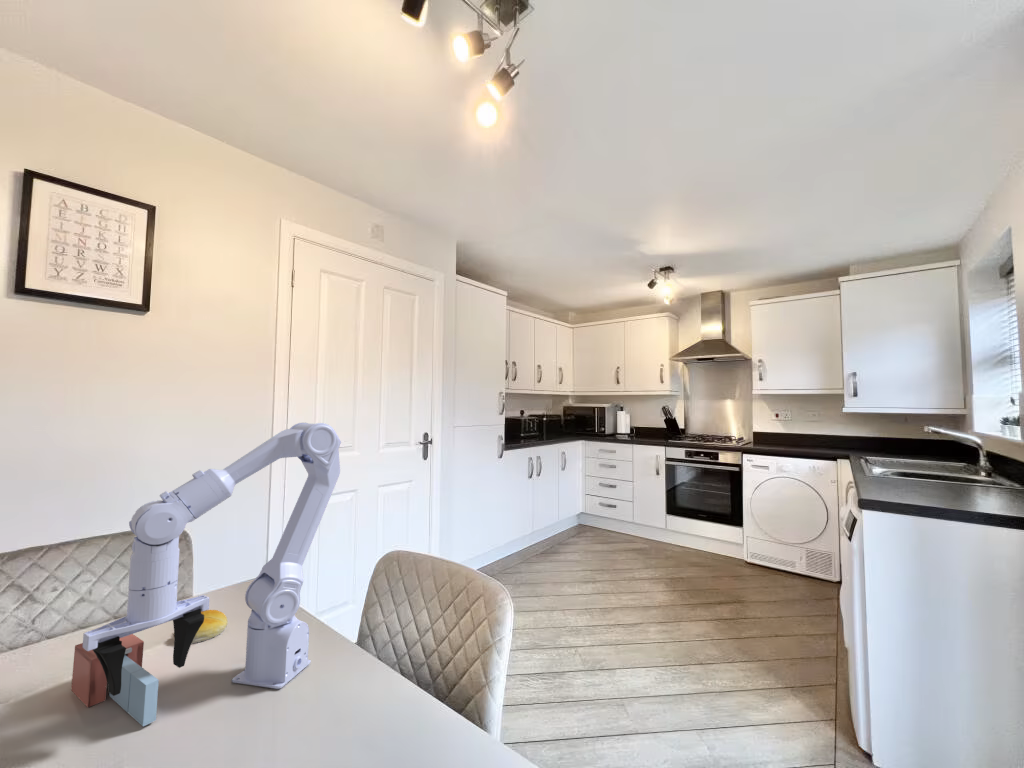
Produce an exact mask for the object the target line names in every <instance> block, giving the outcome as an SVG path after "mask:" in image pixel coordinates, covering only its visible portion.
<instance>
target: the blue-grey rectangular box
mask: <svg viewBox="0 0 1024 768" xmlns="http://www.w3.org/2000/svg"><path fill="white" fill-rule="evenodd" d="M159 681H160V679H158V678H157V677H156V676H155V675H153V674H151V672H149V671H148V670H146V669H145V668H144V667H143V666H142V667H141V666H139V665H138V664H137V663H135V662H134V661H133V660H131V659H130V658H129V657H127V656H126V655H124V659H123V664H122V672H121V691H120V693H119V694H117V695H115V696H113V695H112V694H111V693H109V692H108V694H109V695H108V696H109V697H110V698H111V700H113V701H114V702H115V703H116V704H117V705H119V706H120V707H121V709H123V710H124V711H125V712H126V713H127V714H129V715H130V716H131V717H132V718H133V719H134V720H135V721H136V722H137V723H138V724H139V725H141V726H142V727H145V726H147V725H149V724H151V723H153V722H155V721H157V709H158V694H159V683H160V682H159Z"/></svg>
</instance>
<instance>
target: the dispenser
mask: <svg viewBox="0 0 1024 768" xmlns="http://www.w3.org/2000/svg"><path fill="white" fill-rule="evenodd" d="M120 641H122V645H123V646H124V647H125V648H126V651H125V655H126V656H127V657H129V658H130V659H131V660H133V661H134V662H135V663H137V664H138V665H139V666H141V667H142V668H143V658H144V656H143V655H144V643H145V642H144V640H143V639H141V638H140V637H138V636H137V635H135V634H131V635H128V636H125V637H122V638H120ZM107 688H108V684H107V679H106V676H105V672H104V670H103V667H102V665H101V663H100V661H99V659H98V658H97V656H96V654H95V653H94V651H93V650H90V651H86V650H85V649H84V648H83V642H82V643H78V644H75V646H74V653H73V666H72V677H71V688H70V690H71V692H72V693H73V694H74V695H75V696H76V697H77V698H78V699H79V700H80V701H81V702H82V703H83V704H84V706H86V707H87V708H91V707H92V706H95V705H99V704H100V703H102V702H105V701H106V698H107Z"/></svg>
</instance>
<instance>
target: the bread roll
mask: <svg viewBox="0 0 1024 768" xmlns="http://www.w3.org/2000/svg"><path fill="white" fill-rule="evenodd" d="M201 614H203V615H204V622H203V624H202V625H201V627H200V628H199V630H198V631H197V633H196V635H195V637H194V639H193V641H192V643H194V644H198V643H197V642H199V643H202V642H201V641H203V642H205V641H204V640H206V641H208V640H207V639H209V640H211V639H213V637H214V638H216V637H217V635H218V636H219V635H221V634H222V633H223V632H224V630H225V629H226V627H227V626H228V624H229V623H228V617H227V616H226V614H225V613H224V612H222V611H220V610H217V609H208V610H206V611H203V612H201ZM215 636H216V637H215ZM210 638H211V639H210Z"/></svg>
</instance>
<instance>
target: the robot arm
mask: <svg viewBox="0 0 1024 768" xmlns="http://www.w3.org/2000/svg"><path fill="white" fill-rule="evenodd" d="M341 444H342V440H341V439H340V437H339V435H338V434H337V432H336V430H335V429H334V427H333V426H332V425H330V424H327V423H324V422H317V423H308V422H298V423H295V424H293V425H291V427H290V428H286V429H284V430H281V431H279V432H278V433H277V434H275V435H274V436H272V437H270V438H269V439H267V440H266V441H265V442H262V443H261V444H259V445H258V446H256V447H255V448H253V449H252V450H250V451H249V452H247V453H246V454H244V455H243V456H241V457H240V458H238V459H237V460H235V461H233V462H232V463H230V464H229V465H228V466H226V467H224V468H223V469H216V468H207V470H205V471H203V470H200V469H199V470H198V471H196V472H194V473H192V476H191V477H193V478H192V479H190V480H188V481H186V482H184V483H183V484H181V485H180V486H178V487H177V488H174V489H173V490H172V491H170V492H168V491H167V490H165V491H164V492H162V493H160V494H159V497H160V498H161V500H158V499H157V500H152V501H149V502H147V503H144V504H142V505H141V506H140V507H139V508H137V509H136V511H135V513H134V514H133V515H132V517H131V520H130V521H129V522H128V524H129V528H130V531H131V532H132V534H133V535H134V537H133V542H132V543H131V551H132V554H131V555H130V560H129V575H128V576H129V577H128V595H127V608H126V615H124V616H123V617H121V618H118V619H116V620H113V621H111V622H109V623H107V624H104V625H102V626H100V627H97V628H94V629H92V630H88V631H86V632H84V633H83V636H82V643H83V648H84V649H85V650H86V651H90V650H93V651H94V653H95V654H96V656H97V658H98V659H99V661H100V663H101V665H102V667H103V670H104V672H105V676H106V679H107V691H108V694H109V693H111V694H112V695H113V696H115V695H117V694H119V693H120V691H121V672H122V664H123V659H124V655H125V651H126V648H125V647H124V646H123V645H122V641H120V638H122V637H125V636H128V635H131V634H133V635H135V634H137V633H140V632H142V631H146V630H149V629H151V628H153V627H156V626H160V625H162V624H165V623H169V622H171V621H172V622H173V623H172V624H173V636H174V637H173V639H174V642H173V653H172V654H173V655H172V663H173V665H174V666H176V667H177V668H179V669H180V668H182V667H184V666H185V664H186V660H187V657H188V653H189V651H190V648H191V645H192V644H191V643H192V641H193V639H194V637H195V635H196V633H197V631H198V630H199V628H200V627H201V625H202V624H203V622H204V615H203V614H201V612H203V611H206V610H210V597H209V596H207V595H204V594H202V595H198V596H196V597H195V596H194V597H191V598H186V599H183V600H178V585H179V583H178V581H179V568H180V567H179V566H180V551H181V549H180V547H179V546H180V545H179V543H180V536H181V535H182V533H183V532H184V530H185V528H186V525H187V524H188V523H193V522H194V521H195V520H197V519H199V518H200V517H201V516H203V515H204V514H206V513H207V512H209V511H211V510H213V508H215V507H216V506H218V505H219V504H221V503H223V502H225V501H226V500H227V499H229V498H230V497H232V496H233V491H234V489H235V487H236V485H237V484H239V483H241V482H243V481H244V480H245V479H248V478H249V477H251V476H252V475H254V474H256V473H258V472H259V471H261V470H263V469H265V468H266V467H267V466H269V465H271V464H274V463H275V462H276V461H278V460H279V459H285V458H286V459H287V458H298V459H299V460H300V461H301V463H302V465H303V467H304V468H305V470H306V473H307V474H308V476H307V478H306V479H305V483H304V485H303V487H302V489H301V492H300V493H299V496H298V498H297V501H296V503H295V505H294V508H293V510H292V513H291V515H290V517H289V520H288V521H287V523H286V526H285V528H284V531H283V533H282V535H281V537H280V540H279V541H278V545H277V547H276V549H275V552H274V553H273V556H272V557H271V559H270V560H268V561H267V562H266V563H265V564H264V565H263V566H262V568H261V570H260V572H259V574H258V575H257V576H256V577H255V579H253V580H252V582H251V583H250V584H249V585H248V587H247V589H246V591H245V594H244V596H245V597H244V600H245V603H246V605H247V607H248V608H249V609H251V612H250V615H249V618H248V620H247V629H246V631H247V632H246V648H245V650H246V651H245V652H246V653H245V665H244V666H245V669H244V670H242V671H241V672H239V673H238V674H237V675H235V676H234V677H233V678H232V679H231V682H232V683H235V684H241V685H248V686H256V687H262V688H270V689H277V690H279V689H282V688H283V687H284V686H286V684H288V683H289V682H290V681H291V680H293V679H294V678H295V677H296V676H297V675H298V674H300V672H301V671H303V670H304V669H305V668H306V667H308V666H309V665H310V664H311V659H309V642H310V628H309V625H308V623H307V622H305V621H303V620H300V619H298V618H297V616H296V614H297V612H298V611H299V608H300V605H301V591H302V587H303V583H304V574H303V564H304V563H305V560H306V558H307V555H308V552H309V550H310V549H311V545H312V542H313V541H314V538H315V535H316V533H317V530H318V528H319V525H321V521H322V518H323V516H324V514H325V511H326V508H327V506H328V504H329V502H330V499H331V496H332V494H333V491H334V489H335V487H336V484H337V482H338V479H339V478H340V474H341V465H340V462H341V461H340V450H339V449H340V446H341Z"/></svg>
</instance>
